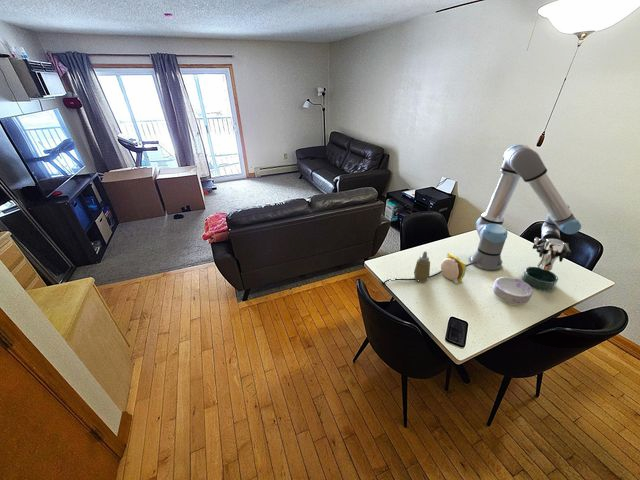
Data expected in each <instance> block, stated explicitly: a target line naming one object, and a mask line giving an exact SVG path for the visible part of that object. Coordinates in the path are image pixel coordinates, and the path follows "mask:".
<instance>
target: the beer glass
mask: <svg viewBox="0 0 640 480" xmlns="http://www.w3.org/2000/svg"><path fill="white" fill-rule="evenodd" d="M565 243H566V242H564V241H563V240H561V239H560V240H558V239H552V238H550V239H547V241H546V243H545V245H544V247H543V254H542V257H540V260H539V261H538V263H537V266H536V267H539V268H540V269H542V270H546V271H553V267H554V264H555V262H556V261H557V260H558V259H559V255H560V254H561V252H562V249H563V247H564V244H565Z"/></svg>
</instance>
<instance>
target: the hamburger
mask: <svg viewBox="0 0 640 480" xmlns="http://www.w3.org/2000/svg"><path fill="white" fill-rule="evenodd" d="M466 265H467V264H466V263H465V262H464V261H462V260H461V258H459V257H458V256H455V255H453V254H452V253H449V252H447V254H446V258H444V259H443V260H442V261H441V263H440V271H442V273H441V274H442V275H443V277H445V278H446V279H447V280H449V281H453V282H454V283H455V284H459V283H460V284H461V283H462V281H463V278H464V277H465V274H466V268H467V267H466Z"/></svg>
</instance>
